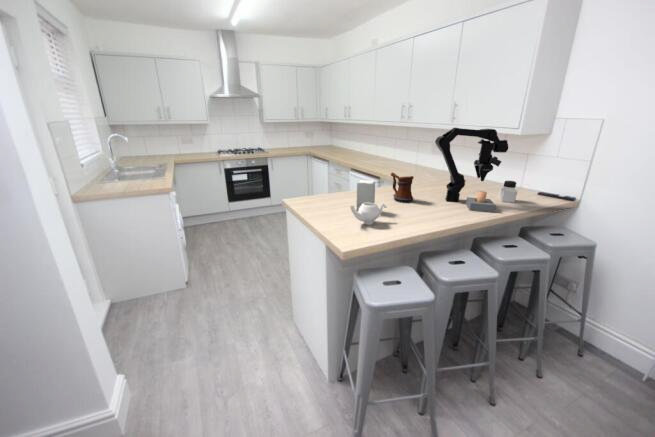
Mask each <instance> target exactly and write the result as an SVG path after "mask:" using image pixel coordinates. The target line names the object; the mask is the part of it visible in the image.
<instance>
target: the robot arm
mask: <svg viewBox="0 0 655 437" xmlns="http://www.w3.org/2000/svg"><path fill="white" fill-rule="evenodd" d="M458 136H465V137H475V138H480V140H479V141H477V144H479V145H481V146H480V150H479V153H478V159H475V160H474V162H473V167H474V169H475V173H476V178H477V179H480V181H481V182H484V181H485V179H486V177H487V175H488V173H490V172H492V171H493V170H494V166H495V167H499V166H500V165H501V163H502V160H499V159H498V157H497V156H496V155H494V156H493V154H492V152H494V153H501V154H504V153H507V152H508V150H509V144H508V139H500V138H499V136H498V131H497V130H496V129H494V128H481V129H473V128H472V129H470V128H460V127H452V128H451V129H450V130H449V131H447V132H445V133H444V134H442V135H440V136H438V137H437V138H436V139H435V141H434V142H435V145H436V147H437V148H438V150H439V151H440V152H441V154H442V157H443V158H444V161H445V165H446V166H447V170H448V172H449V174H450V178H449V180H450V182H449V183H447V184H446V185H445V186H446V195H445V198H444V199H445V202H453V203H458V202H459V200H460V195H461V193H460V192H461V191H462V190H463V189H464V187H465V185H466V182H467V181H466V180H465V177H464V176H465V175H464V174H462V173H459V171H458V167H457V165H456V163H455V159H454V157H453V155H452V151H451V142H452V141H454V140H455V138H456V137H458ZM493 165H494V166H493Z"/></svg>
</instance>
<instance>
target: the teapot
mask: <svg viewBox="0 0 655 437" xmlns="http://www.w3.org/2000/svg"><path fill="white" fill-rule="evenodd" d="M349 208H350V211H351V213H352V214H353V215H354V217H355V218H356V219H357V220H358V221H360V222H363V224H364V225H366V226H367V225H368V226H370V225H373V224H374V222H375V221H376V220H377V219H378V218H379V217H380V216H381V215H382V211H383V209H384V208H385V209H386V208H388V207H387V206H386V205H385V204H384V203H381V204H380V205H379V206H378V205H377V203H372V202H365V203H363V204H362V205H361V206H360V208H359V211H357V209H356V208H355V206H354V205H351V206H350V207H349Z"/></svg>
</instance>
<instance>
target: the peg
mask: <svg viewBox="0 0 655 437" xmlns="http://www.w3.org/2000/svg"><path fill="white" fill-rule="evenodd" d="M476 198H477V202H482V203H485V199H487V192H486V191H481V190H480V191H478V193H477V197H476Z"/></svg>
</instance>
